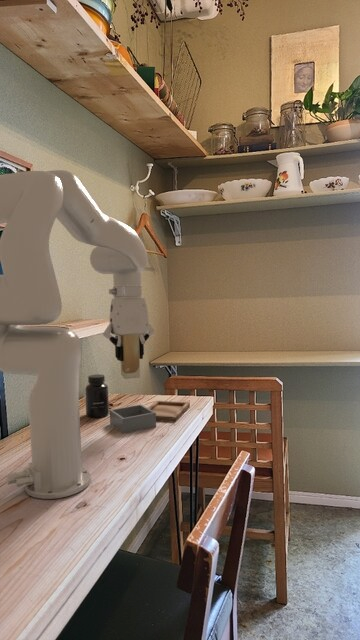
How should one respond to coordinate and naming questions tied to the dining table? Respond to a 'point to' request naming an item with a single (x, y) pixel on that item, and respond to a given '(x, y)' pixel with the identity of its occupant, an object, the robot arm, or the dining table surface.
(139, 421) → the holder
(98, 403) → the supplement bottle
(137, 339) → the skincare box
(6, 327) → the robot arm
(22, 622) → the dining table surface
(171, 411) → the tray
